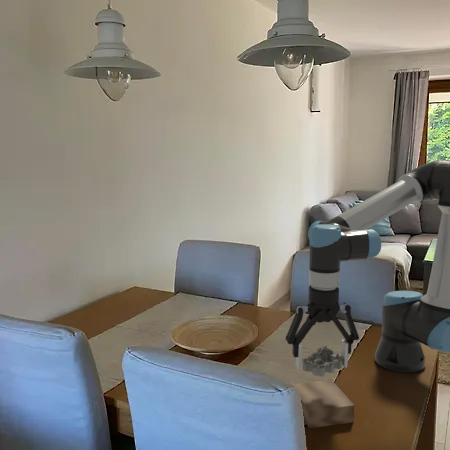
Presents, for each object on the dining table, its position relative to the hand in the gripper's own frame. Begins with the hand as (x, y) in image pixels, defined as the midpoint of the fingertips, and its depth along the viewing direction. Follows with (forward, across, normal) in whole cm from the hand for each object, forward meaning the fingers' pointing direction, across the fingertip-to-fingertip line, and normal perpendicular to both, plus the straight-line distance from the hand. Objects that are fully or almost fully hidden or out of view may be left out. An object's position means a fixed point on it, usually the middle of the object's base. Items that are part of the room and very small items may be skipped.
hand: (321, 366), depth 132 cm
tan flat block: (+13, 0, 0) cm, 13 cm away
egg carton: (+1, 0, 0) cm, 1 cm away
